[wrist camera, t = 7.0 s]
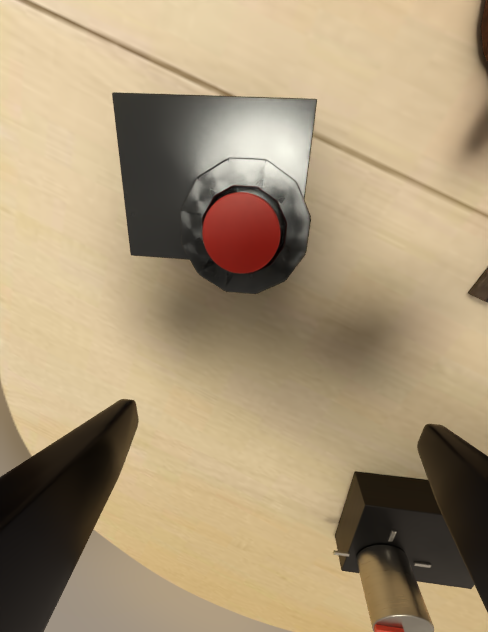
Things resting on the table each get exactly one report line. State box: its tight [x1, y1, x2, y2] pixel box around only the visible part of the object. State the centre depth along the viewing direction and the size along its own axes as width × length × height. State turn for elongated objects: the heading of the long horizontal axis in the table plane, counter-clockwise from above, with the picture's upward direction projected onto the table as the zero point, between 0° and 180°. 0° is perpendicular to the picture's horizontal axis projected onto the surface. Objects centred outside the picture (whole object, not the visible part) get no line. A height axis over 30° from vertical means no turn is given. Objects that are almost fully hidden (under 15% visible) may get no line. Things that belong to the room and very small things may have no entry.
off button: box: [202, 192, 280, 274], centre depth 13 cm, size 4×4×2 cm
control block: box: [112, 93, 317, 294], centre depth 15 cm, size 10×9×4 cm
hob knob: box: [357, 545, 434, 632], centre depth 23 cm, size 4×4×5 cm
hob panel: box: [333, 472, 475, 589], centre depth 26 cm, size 13×11×3 cm
